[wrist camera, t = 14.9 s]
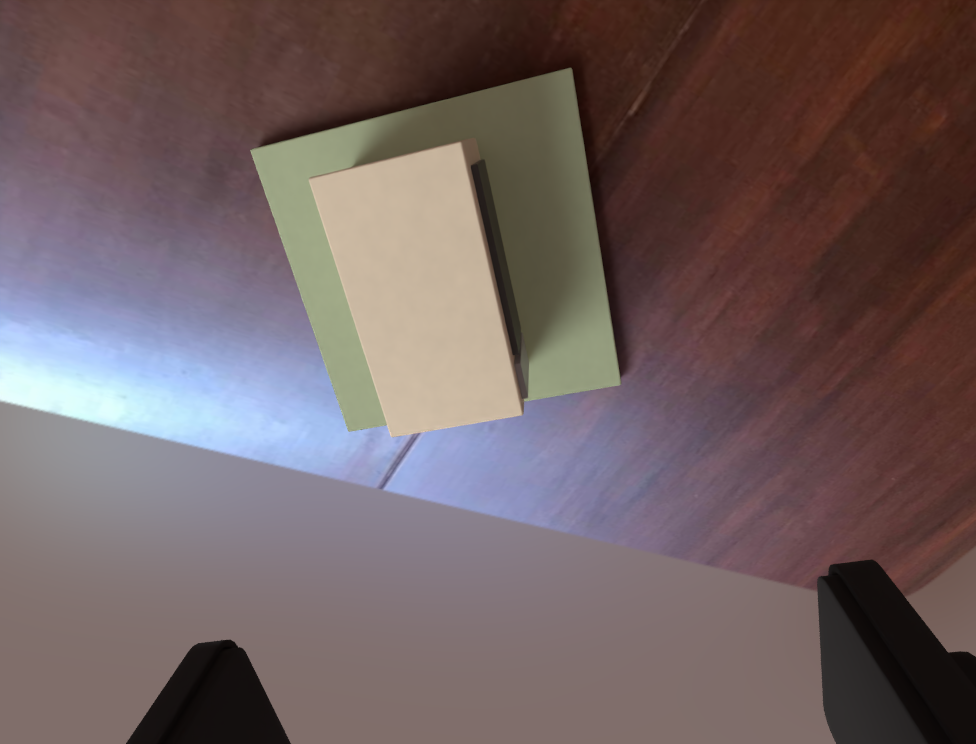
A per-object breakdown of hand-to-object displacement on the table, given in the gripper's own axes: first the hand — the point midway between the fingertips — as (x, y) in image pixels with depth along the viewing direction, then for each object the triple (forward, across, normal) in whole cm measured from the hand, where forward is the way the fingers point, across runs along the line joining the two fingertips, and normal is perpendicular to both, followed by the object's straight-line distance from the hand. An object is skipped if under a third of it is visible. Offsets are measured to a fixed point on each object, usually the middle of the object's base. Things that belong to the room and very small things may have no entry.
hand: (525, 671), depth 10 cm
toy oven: (+23, +4, -2) cm, 24 cm away
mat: (+24, +4, -2) cm, 25 cm away
